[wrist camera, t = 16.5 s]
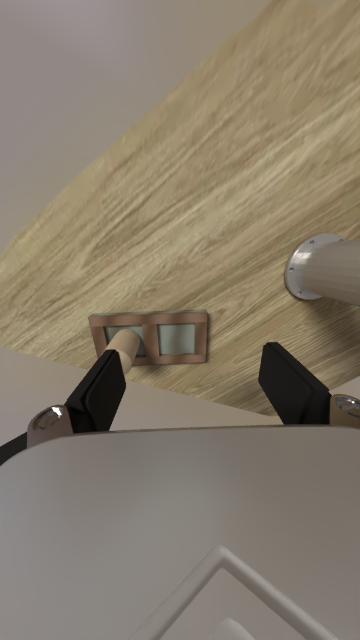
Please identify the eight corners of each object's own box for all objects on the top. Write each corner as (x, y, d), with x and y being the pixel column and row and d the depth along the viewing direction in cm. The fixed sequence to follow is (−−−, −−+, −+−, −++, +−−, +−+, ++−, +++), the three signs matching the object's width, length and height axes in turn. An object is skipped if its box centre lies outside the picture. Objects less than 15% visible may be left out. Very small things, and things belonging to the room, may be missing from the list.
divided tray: (205, 309, 36) (207, 313, 34) (203, 356, 41) (205, 363, 38) (92, 313, 35) (87, 318, 33) (103, 361, 40) (99, 368, 37)
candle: (132, 354, 38) (120, 387, 29) (110, 343, 37) (89, 373, 27) (145, 336, 36) (135, 364, 27) (122, 323, 35) (104, 348, 26)
